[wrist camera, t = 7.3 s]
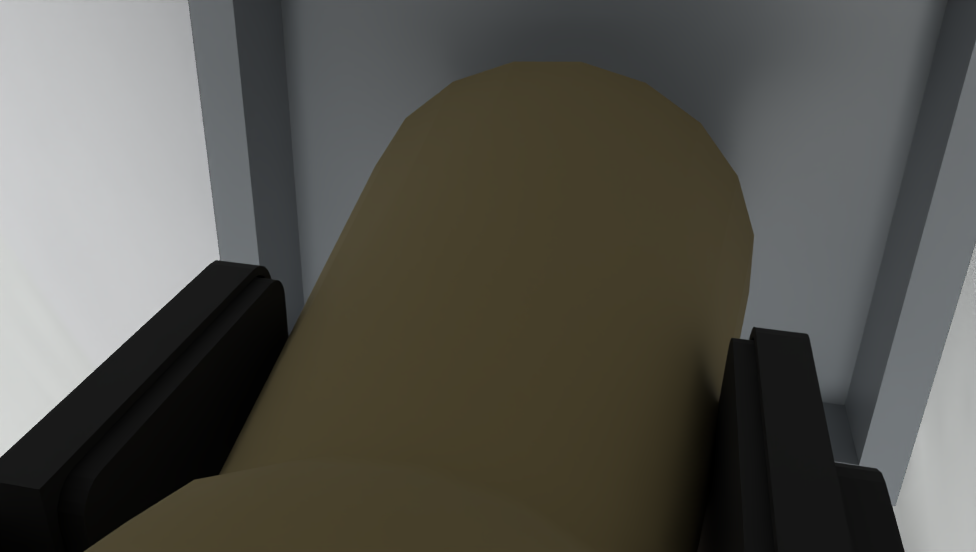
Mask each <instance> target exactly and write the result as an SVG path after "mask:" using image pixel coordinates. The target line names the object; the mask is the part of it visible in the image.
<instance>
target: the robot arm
mask: <svg viewBox="0 0 976 552" xmlns="http://www.w3.org/2000/svg"><path fill="white" fill-rule="evenodd" d="M288 337H289V335H288V324H287V312H286V300H285V292H284V287H283V285H282V283H281V282H280V281H279V280H273V279H271V275H270V273H269V271H268V269H267V268H266V267H264V266H260V265H252V264H244V263H236V262H228V261H218V260H216V261H214V262H212V263H211V264H210V265H208V266H207V267H206V268H205V269H204V270H203V271H202V272H201V273H200V274H199V275H198V276H197V277H195V278H194V279H193V280H192V281H191V282H190V283H189V284H188V285H187V286H186V287H185V288H184V289H182V290H181V291H180V292H179V293H178V294H177V295H176V296H175V297H174V298H173V299H172V300H171V301H169V302H168V303H167V304H166V305H165V306H164V307H163V308H162V309H161V310H160V311H159V312H158V313H156V314H155V315H154V316H153V317H152V318H151V319H150V320H149V321H148V322H147V323H146V324H145V325H143V326H142V327H141V328H140V329H139V330H138V331H137V332H136V333H135V334H134V335H133V336H132V337H130V338H129V339H128V340H127V341H126V342H125V343H124V344H123V345H122V346H121V347H120V348H119V349H117V350H116V351H115V352H114V353H113V354H112V355H111V356H110V357H109V358H108V359H107V360H106V361H104V362H103V363H102V364H101V365H100V366H99V367H98V368H97V369H96V370H95V371H94V372H93V373H91V374H90V375H89V376H88V377H87V378H86V379H85V380H84V381H83V382H82V383H81V384H80V385H78V386H77V387H76V388H75V389H74V390H73V391H72V392H71V393H70V394H69V395H68V396H67V397H65V398H64V399H63V400H62V401H61V402H60V403H59V404H58V405H57V406H56V407H55V408H54V409H52V410H51V411H50V412H49V413H48V414H47V415H46V416H45V417H44V418H43V419H42V420H41V421H39V422H38V423H37V424H36V425H35V426H34V427H33V428H32V429H31V430H30V431H29V432H28V433H26V434H25V435H24V436H23V437H22V438H21V439H20V440H19V441H18V442H17V443H16V444H15V445H13V446H12V447H11V448H10V449H9V450H8V451H7V452H6V453H5V454H4V455H3V456H2V457H0V552H84V551H85V550H87V549H88V548H90V547H91V546H92V545H94V544H95V543H97V542H98V541H100V540H101V539H103V538H104V537H105V536H107V535H108V534H110V533H111V532H113V531H114V530H116V529H117V528H118V527H120V526H121V525H123V524H124V523H126V522H127V521H129V520H130V519H132V518H134V517H135V516H137V515H139V514H140V513H142V512H143V511H145V510H147V509H148V508H150V507H151V506H153V505H155V504H156V503H158V502H159V501H161V500H163V499H164V498H166V497H167V496H169V495H171V494H172V493H174V492H175V491H177V490H179V489H180V488H182V487H183V486H185V485H187V484H188V483H190V482H191V481H193V480H196V479H201V478H206V477H211V476H217V475H219V473H220V471H221V469H222V467H223V465H224V463H225V462H226V460H227V458H228V456H229V454H230V452H231V450H232V448H233V446H234V444H235V442H236V440H237V438H238V436H239V434H240V432H241V430H242V428H243V426H244V424H245V422H246V420H247V418H248V416H249V414H250V412H251V410H252V408H253V406H254V404H255V402H256V400H257V398H258V396H259V394H260V392H261V390H262V388H263V386H264V384H265V383H266V381H267V379H268V377H269V375H270V373H271V371H272V369H273V367H274V365H275V363H276V361H277V359H278V357H279V355H280V353H281V351H282V349H283V347H284V345H285V343H286V341H287V339H288ZM697 552H904V548H903V544H902V541H901V537H900V533H899V529H898V526H897V522H896V518H895V515H894V511H893V507H892V504H891V500H890V496H889V493H888V489H887V485H886V482H885V480H884V477H883V475H882V472H880V471H879V470H878V469H877V468H871V467H864V466H857V465H850V464H844V463H837V462H835V461H834V457H833V452H832V447H831V442H830V437H829V432H828V427H827V422H826V417H825V412H824V407H823V402H822V397H821V392H820V387H819V382H818V377H817V372H816V367H815V362H814V358H813V353H812V348H811V343H810V338H809V335H808V334H806V333H798V332H790V331H782V330H774V329H766V328H758V327H753V329H752V331H751V334H750V338H749V340H746V339H738V338H731V340H730V343H729V347H728V353H727V358H726V364H725V370H724V375H723V381H722V387H721V392H720V398H719V405H718V418H717V427H716V435H715V444H714V452H713V461H712V470H711V478H710V487H709V495H708V501H707V506H706V511H705V516H704V521H703V526H702V531H701V536H700V541H699V546H698V551H697Z"/></svg>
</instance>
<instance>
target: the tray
mask: <svg viewBox="0 0 976 552" xmlns="http://www.w3.org/2000/svg"><path fill="white" fill-rule="evenodd" d="M188 3H189V11H190V19H191V27H192V35H193V43H194V51H195V60H196V68H197V76H198V84H199V92H200V100H201V108H202V116H203V125H204V133H205V141H206V149H207V157H208V165H209V173H210V181H211V190H212V198H213V206H214V214H215V222H216V230H217V238H218V247H219V255H220V261H228V262H236V263H244V264H252V265H260V266H264V267H266V268H267V269H268V271H269V273H270V275H271V279H273V280H279V281H280V282H281V283H282V285H283V287H284V292H285V300H286V312H287V324H288V335H290V333H291V331H292V329H293V327H294V325H295V323H296V321H297V319H298V317H299V315H300V313H301V311H302V309H303V307H304V305H305V304H306V302H307V300H308V298H309V296H310V294H311V292H312V290H313V288H314V286H315V284H316V282H317V280H318V278H319V276H320V274H321V272H322V270H323V268H324V266H325V264H326V262H327V260H328V258H329V256H330V254H331V252H332V250H333V248H334V246H335V244H336V242H337V240H338V238H339V236H340V234H341V232H342V230H343V228H344V226H345V225H346V223H347V221H348V219H349V217H350V215H351V213H352V211H353V209H354V207H355V205H356V203H357V201H358V199H359V197H360V195H361V193H362V191H363V189H364V187H365V185H366V183H367V181H368V179H369V177H370V175H371V173H372V171H373V169H374V167H375V165H376V164H377V162H378V161H379V159H380V158H381V156H382V154H383V153H384V151H385V150H386V148H387V147H388V145H389V143H390V142H391V140H392V139H393V137H394V136H395V134H396V132H397V131H398V129H399V128H400V126H401V125H402V123H403V121H404V120H405V118H407V117H408V116H409V115H410V114H412V113H413V112H414V111H416V110H417V109H418V108H419V107H421V106H422V105H423V104H425V103H426V102H427V101H429V100H430V99H431V98H432V97H434V96H435V95H436V94H438V93H439V92H440V91H442V90H443V89H444V88H445V87H447V86H448V85H449V84H451V83H452V82H453V81H456V80H459V79H462V78H465V77H468V76H471V75H474V74H477V73H480V72H483V71H487V70H490V69H493V68H496V67H499V66H502V65H505V64H508V63H511V62H514V61H534V62H584V63H587V64H590V65H593V66H596V67H599V68H602V69H605V70H608V71H611V72H614V73H617V74H620V75H623V76H626V77H629V78H632V79H636V80H639V81H642V82H645V83H647V84H648V85H650V86H651V87H652V88H654V89H655V90H656V91H658V92H659V93H660V94H662V95H663V96H665V97H666V98H667V99H669V100H670V101H671V102H673V103H674V104H676V105H677V106H678V107H680V108H681V109H682V110H684V111H685V112H686V113H688V114H689V115H691V116H692V117H693V118H695V119H696V120H697V121H699V122H700V123H701V124H702V125H703V127H704V128H705V130H706V131H707V133H708V134H709V135H710V137H711V138H712V140H713V141H714V143H715V144H716V145H717V147H718V148H719V150H720V151H721V153H722V154H723V155H724V157H725V158H726V160H727V161H728V163H729V164H730V165H731V167H732V168H733V170H734V171H735V173H736V174H737V175H738V178H739V181H740V185H741V189H742V192H743V196H744V200H745V203H746V207H747V211H748V214H749V218H750V222H751V225H752V229H753V233H754V244H753V255H752V266H751V277H750V288H749V296H748V301H747V306H746V311H745V316H744V321H743V326H742V331H741V336H740V339H746V340H749V338H750V334H751V331H752V329H753V327H758V328H766V329H774V330H782V331H790V332H798V333H806V334H808V335H809V338H810V343H811V348H812V353H813V358H814V362H815V367H816V372H817V377H818V382H819V387H820V392H821V397H822V402H823V407H824V412H825V417H826V422H827V427H828V432H829V437H830V442H831V447H832V452H833V457H834V461H835V462H837V463H844V464H850V465H857V466H864V467H871V468H877V469H878V470H879V471H880V472H882V475H883V477H884V480H885V482H886V485H887V489H888V493H889V496H890V500H891V504H892V506H895V505H896V502H897V499H898V496H899V492H900V489H901V486H902V482H903V479H904V476H905V473H906V469H907V466H908V463H909V460H910V456H911V453H912V450H913V446H914V443H915V440H916V437H917V433H918V430H919V427H920V423H921V420H922V417H923V414H924V410H925V407H926V404H927V401H928V397H929V394H930V391H931V387H932V384H933V381H934V378H935V374H936V371H937V368H938V365H939V361H940V358H941V355H942V351H943V348H944V345H945V342H946V338H947V335H948V332H949V329H950V325H951V322H952V319H953V315H954V312H955V309H956V306H957V302H958V299H959V296H960V293H961V289H962V286H963V283H964V279H965V276H966V273H967V270H968V266H969V263H970V260H971V257H972V253H973V250H974V247H975V243H976V0H188Z"/></svg>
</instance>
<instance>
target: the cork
mask: <svg viewBox="0 0 976 552" xmlns="http://www.w3.org/2000/svg"><path fill="white" fill-rule="evenodd" d="M753 244H754V233H753V229H752V225H751V222H750V218H749V214H748V211H747V207H746V203H745V200H744V196H743V192H742V189H741V185H740V181H739V178H738V175H737V174H736V173H735V171H734V170H733V168H732V167H731V165H730V164H729V163H728V161H727V160H726V158H725V157H724V155H723V154H722V153H721V151H720V150H719V148H718V147H717V145H716V144H715V143H714V141H713V140H712V138H711V137H710V135H709V134H708V133H707V131H706V130H705V128H704V127H703V125H702V124H701V123H700V122H699V121H697V120H696V119H695V118H693V117H692V116H691V115H689V114H688V113H686V112H685V111H684V110H682V109H681V108H680V107H678V106H677V105H676V104H674V103H673V102H671V101H670V100H669V99H667V98H666V97H665V96H663V95H662V94H660V93H659V92H658V91H656V90H655V89H654V88H652V87H651V86H650V85H648V84H647V83H645V82H642V81H639V80H636V79H632V78H629V77H626V76H623V75H620V74H617V73H614V72H611V71H608V70H605V69H602V68H599V67H596V66H593V65H590V64H587V63H584V62H534V61H514V62H511V63H508V64H505V65H502V66H499V67H496V68H493V69H490V70H487V71H483V72H480V73H477V74H474V75H471V76H468V77H465V78H462V79H459V80H456V81H453V82H452V83H451V84H449V85H448V86H447V87H445V88H444V89H443V90H442V91H440V92H439V93H438V94H436V95H435V96H434V97H432V98H431V99H430V100H429V101H427V102H426V103H425V104H423V105H422V106H421V107H419V108H418V109H417V110H416V111H414V112H413V113H412V114H410V115H409V116H408V117H407V118H405V120H404V121H403V123H402V125H401V126H400V128H399V129H398V131H397V132H396V134H395V136H394V137H393V139H392V140H391V142H390V143H389V145H388V147H387V148H386V150H385V151H384V153H383V154H382V156H381V158H380V159H379V161H378V162H377V164H376V165H375V167H374V169H373V171H372V173H371V175H370V177H369V179H368V181H367V183H366V185H365V187H364V189H363V191H362V193H361V195H360V197H359V199H358V201H357V203H356V205H355V207H354V209H353V211H352V213H351V215H350V217H349V219H348V221H347V223H346V225H345V226H344V228H343V230H342V232H341V234H340V236H339V238H338V240H337V242H336V244H335V246H334V248H333V250H332V252H331V254H330V256H329V258H328V260H327V262H326V264H325V266H324V268H323V270H322V272H321V274H320V276H319V278H318V280H317V282H316V284H315V286H314V288H313V290H312V292H311V294H310V296H309V298H308V300H307V302H306V304H305V305H304V307H303V309H302V311H301V313H300V315H299V317H298V319H297V321H296V323H295V325H294V327H293V329H292V331H291V333H290V335H289V337H288V339H287V341H286V343H285V345H284V347H283V349H282V351H281V353H280V355H279V357H278V359H277V361H276V363H275V365H274V367H273V369H272V371H271V373H270V375H269V377H268V379H267V381H266V383H265V384H264V386H263V388H262V390H261V392H260V394H259V396H258V398H257V400H256V402H255V404H254V406H253V408H252V410H251V412H250V414H249V416H248V418H247V420H246V422H245V424H244V426H243V428H242V430H241V432H240V434H239V436H238V438H237V440H236V442H235V444H234V446H233V448H232V450H231V452H230V454H229V456H228V458H227V460H226V462H225V463H224V465H223V467H222V469H221V471H220V473H219V475H217V476H211V477H206V478H201V479H196V480H193V481H191V482H190V483H188V484H187V485H185V486H183V487H182V488H180V489H179V490H177V491H175V492H174V493H172V494H171V495H169V496H167V497H166V498H164V499H163V500H161V501H159V502H158V503H156V504H155V505H153V506H151V507H150V508H148V509H147V510H145V511H143V512H142V513H140V514H139V515H137V516H135V517H134V518H132V519H130V520H129V521H127V522H126V523H124V524H123V525H121V526H120V527H118V528H117V529H116V530H114V531H113V532H111V533H110V534H108V535H107V536H105V537H104V538H103V539H101V540H100V541H98V542H97V543H95V544H94V545H92V546H91V547H90V548H88V549H87V550H85V551H84V552H697V551H698V546H699V541H700V536H701V531H702V526H703V521H704V516H705V511H706V506H707V501H708V495H709V487H710V478H711V470H712V461H713V452H714V444H715V435H716V427H717V418H718V405H719V398H720V392H721V387H722V381H723V375H724V370H725V364H726V358H727V353H728V347H729V343H730V340H731V338H738V339H740V336H741V331H742V326H743V321H744V316H745V311H746V306H747V301H748V296H749V288H750V277H751V266H752V255H753Z"/></svg>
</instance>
